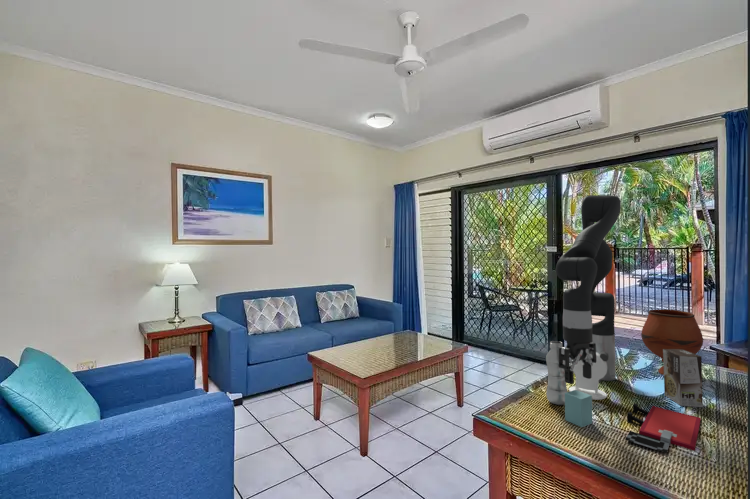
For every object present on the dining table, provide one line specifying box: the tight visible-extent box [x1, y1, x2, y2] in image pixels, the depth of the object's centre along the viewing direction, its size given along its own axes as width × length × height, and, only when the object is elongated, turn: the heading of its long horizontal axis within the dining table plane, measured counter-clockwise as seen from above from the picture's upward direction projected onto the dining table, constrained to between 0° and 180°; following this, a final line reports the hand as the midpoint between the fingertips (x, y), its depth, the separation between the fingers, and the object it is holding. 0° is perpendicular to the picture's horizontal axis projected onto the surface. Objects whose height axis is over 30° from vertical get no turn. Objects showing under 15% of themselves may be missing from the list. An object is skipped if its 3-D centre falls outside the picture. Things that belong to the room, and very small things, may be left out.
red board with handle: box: [624, 402, 702, 454], centre depth 98 cm, size 30×3×15 cm
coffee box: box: [662, 349, 704, 408], centre depth 116 cm, size 9×6×16 cm
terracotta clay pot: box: [640, 309, 704, 376], centre depth 141 cm, size 19×19×25 cm
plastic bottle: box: [545, 340, 568, 406], centre depth 116 cm, size 6×7×20 cm
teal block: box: [564, 390, 593, 428], centre depth 104 cm, size 5×5×8 cm
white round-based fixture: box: [568, 351, 609, 401], centre depth 124 cm, size 12×11×15 cm
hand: (578, 380), depth 103 cm, fingers open, 8 cm apart
